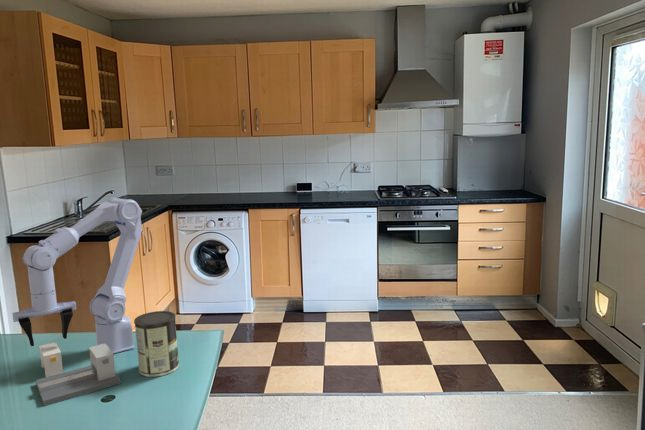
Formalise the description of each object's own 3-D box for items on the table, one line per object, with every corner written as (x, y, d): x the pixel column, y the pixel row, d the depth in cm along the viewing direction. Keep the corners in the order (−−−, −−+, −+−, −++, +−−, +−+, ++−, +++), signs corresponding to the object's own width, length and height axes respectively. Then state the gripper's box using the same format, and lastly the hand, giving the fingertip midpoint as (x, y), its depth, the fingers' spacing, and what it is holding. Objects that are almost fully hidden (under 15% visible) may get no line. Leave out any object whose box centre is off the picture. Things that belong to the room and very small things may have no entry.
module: (58, 362, 141) (55, 341, 140) (63, 374, 133) (61, 352, 132) (41, 366, 138) (39, 345, 137) (46, 379, 131) (43, 357, 130)
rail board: (107, 365, 138) (105, 340, 137) (120, 383, 127) (117, 356, 126) (36, 384, 128) (33, 357, 127) (43, 405, 118) (40, 376, 117)
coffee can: (166, 356, 143) (162, 307, 140) (186, 367, 136) (183, 316, 133) (131, 369, 135) (126, 318, 133) (151, 381, 128) (146, 327, 126)
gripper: (70, 282, 140) (75, 330, 142) (9, 293, 132) (15, 343, 134) (75, 288, 134) (80, 337, 136) (11, 300, 126) (18, 352, 128)
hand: (48, 341), depth 135 cm, fingers open, 7 cm apart
